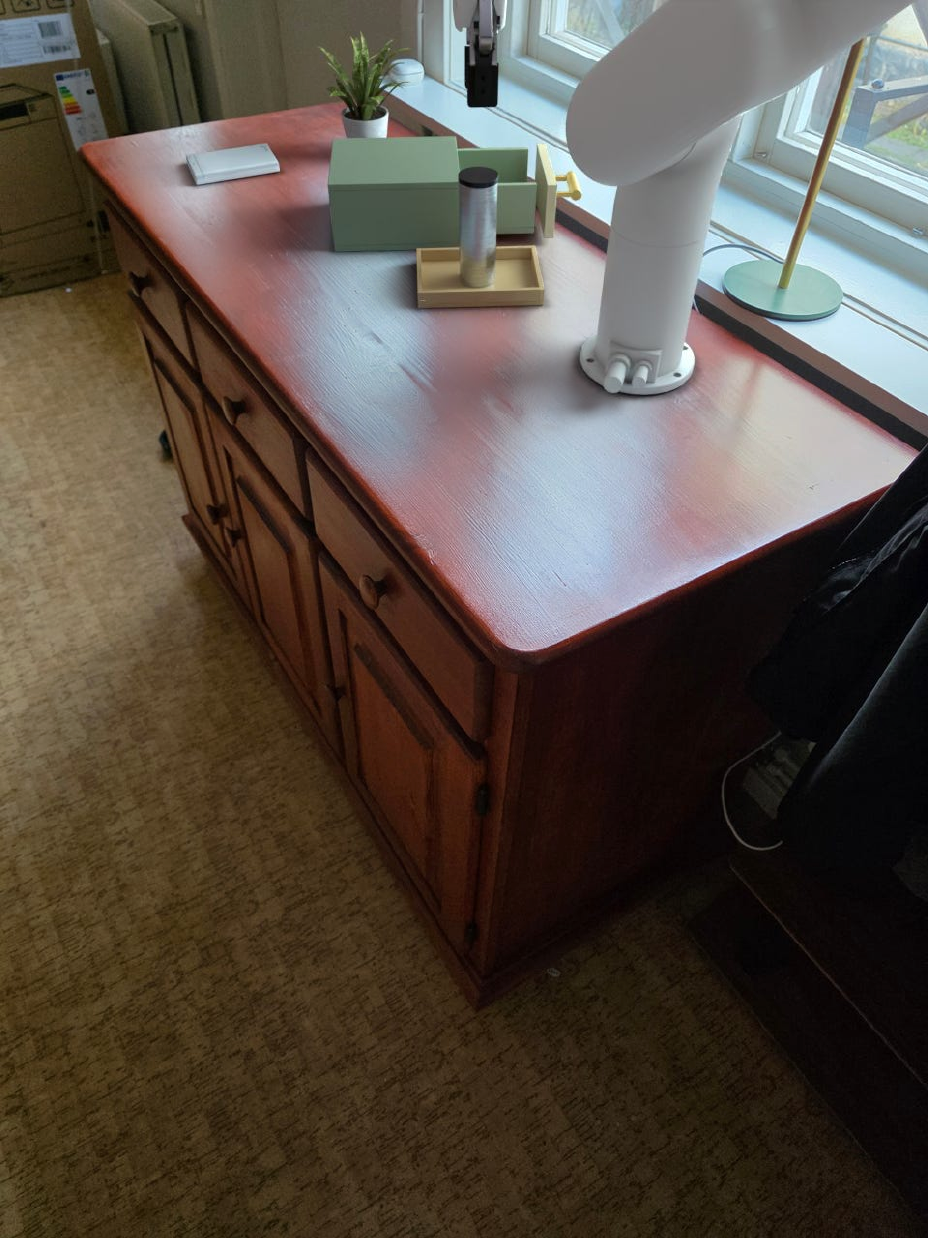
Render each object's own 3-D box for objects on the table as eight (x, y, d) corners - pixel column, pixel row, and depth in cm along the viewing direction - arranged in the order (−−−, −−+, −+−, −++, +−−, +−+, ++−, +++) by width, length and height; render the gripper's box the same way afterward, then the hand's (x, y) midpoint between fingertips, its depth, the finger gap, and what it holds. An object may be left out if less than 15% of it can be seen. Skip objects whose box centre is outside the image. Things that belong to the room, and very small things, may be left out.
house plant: (438, 163, 135) (436, 39, 123) (359, 185, 130) (348, 58, 117) (389, 133, 143) (383, 14, 130) (313, 152, 138) (298, 30, 125)
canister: (489, 290, 109) (492, 185, 99) (454, 285, 110) (453, 180, 100) (499, 273, 112) (503, 168, 102) (465, 267, 112) (465, 164, 103)
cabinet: (456, 200, 127) (455, 135, 120) (461, 248, 117) (461, 181, 110) (339, 202, 126) (332, 137, 120) (334, 251, 116) (327, 184, 110)
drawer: (569, 192, 126) (574, 142, 121) (582, 237, 117) (588, 184, 112) (433, 196, 125) (431, 144, 120) (435, 240, 117) (434, 187, 111)
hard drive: (266, 141, 136) (184, 153, 133) (278, 161, 131) (194, 174, 128) (267, 152, 138) (187, 164, 135) (280, 173, 133) (197, 186, 130)
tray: (534, 260, 115) (535, 245, 113) (543, 304, 107) (544, 289, 106) (416, 263, 114) (416, 247, 113) (418, 308, 107) (417, 292, 105)
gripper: (439, -140, 87) (442, 70, 100) (445, -102, 76) (448, 128, 89) (516, -140, 87) (508, 69, 101) (533, -103, 76) (522, 126, 90)
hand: (480, 94), depth 95 cm, fingers open, 4 cm apart
